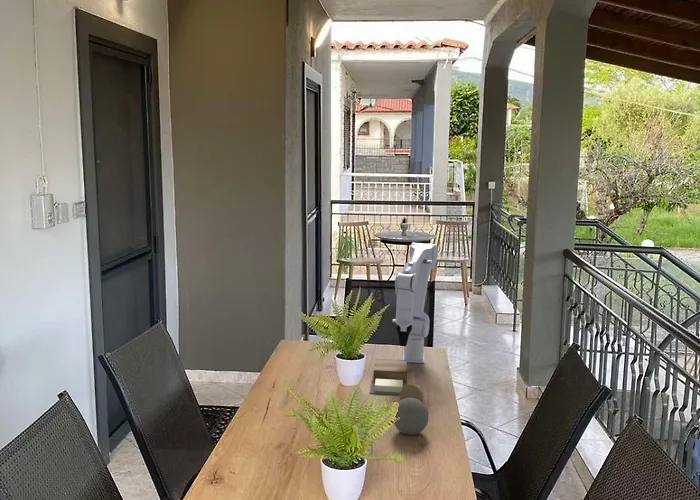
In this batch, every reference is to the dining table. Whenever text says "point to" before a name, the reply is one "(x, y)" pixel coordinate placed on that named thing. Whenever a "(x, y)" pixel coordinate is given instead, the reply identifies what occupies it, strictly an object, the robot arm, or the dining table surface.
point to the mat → (372, 391)
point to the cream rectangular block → (388, 385)
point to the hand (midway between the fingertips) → (403, 345)
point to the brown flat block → (390, 369)
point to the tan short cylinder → (411, 392)
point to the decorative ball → (411, 416)
